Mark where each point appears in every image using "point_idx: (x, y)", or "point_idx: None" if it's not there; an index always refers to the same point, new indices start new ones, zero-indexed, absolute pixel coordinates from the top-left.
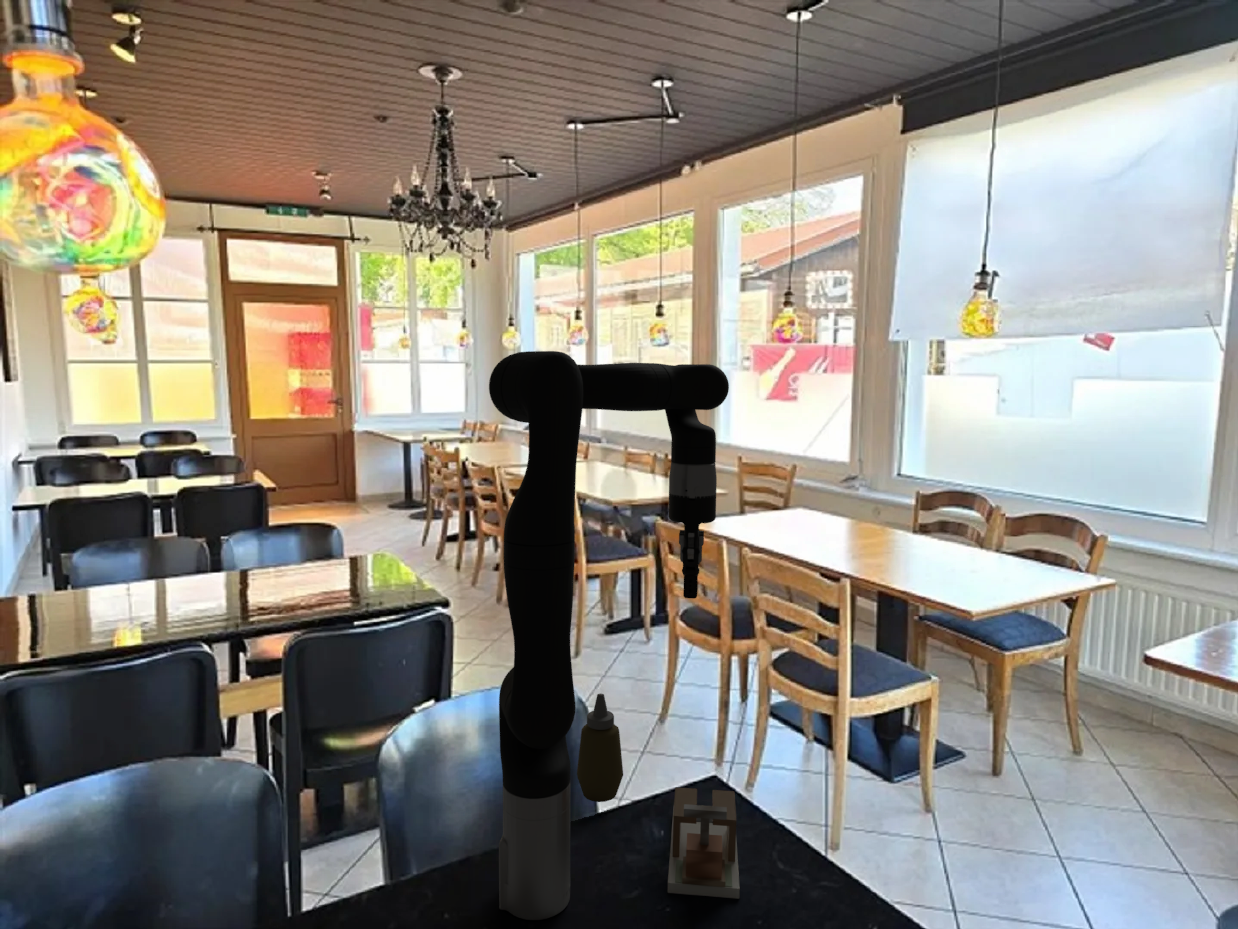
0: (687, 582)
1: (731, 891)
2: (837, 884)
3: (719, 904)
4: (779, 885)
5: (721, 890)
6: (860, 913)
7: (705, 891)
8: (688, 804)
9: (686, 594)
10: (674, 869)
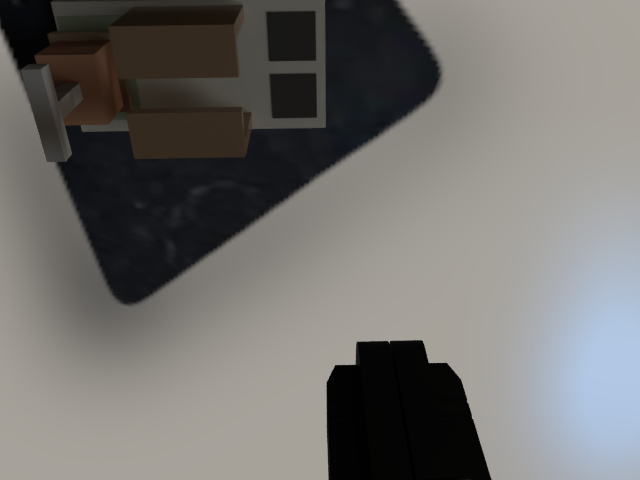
0: (330, 457)
1: None
2: (172, 262)
3: None
4: (144, 186)
5: None
6: (116, 280)
7: None
8: (43, 79)
9: (330, 375)
10: (95, 13)
